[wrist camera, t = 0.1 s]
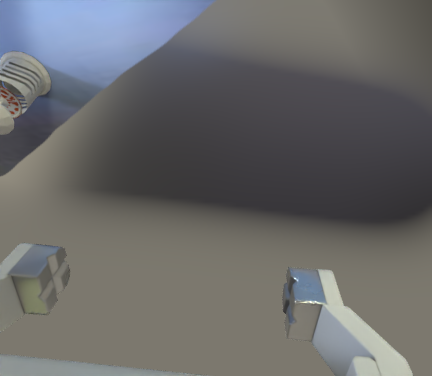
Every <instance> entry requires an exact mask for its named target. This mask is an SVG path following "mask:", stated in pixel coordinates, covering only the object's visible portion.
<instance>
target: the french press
mask: <svg viewBox="0 0 432 376" xmlns="http://www.w3.org/2000/svg"><path fill="white" fill-rule="evenodd" d="M2 81H3V83H4V85H5V87H6V88H7V89H8V90H7V89H5V88H4V87H3V85H2ZM50 87H51V80H50V76H49V73H48V72H47V71H46V69H45V68H44V66H43V65H42V64H41V63H39V62H38V61H37V60H36V59H35V58H33V57H31V56H29V55H27V54H25V53H23V52H16V51H11V52H8V53H5V54H4V55H3V56H2V58H1V59H0V134H1V135H3V134H8V133H10V132H11V131H12V130H13V128H14V120H13V118H18V117H19V116H20V115H21V114H23V113H25V111H26V110H27V109H28V108H29V106H30V105H31V104H32V102H33V101H34V100H35V99H36V97H37V96H40V95H45V94H46V93H47V92H48V91H49V90H50ZM11 92H12V93H11ZM14 94H15V95H23V96H24V97H17V96H15V95H14ZM18 99H26V101H19V100H18ZM21 103H27V104H21ZM24 106H27V107H26V108H22V107H24Z"/></svg>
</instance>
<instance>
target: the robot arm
mask: <svg viewBox="0 0 432 376" xmlns="http://www.w3.org/2000/svg"><path fill="white" fill-rule="evenodd" d="M66 256H67V255H66V251H65V248H62V247H56V246H47V245H39V244H27V243H22V244H19V245H18V246H17V247H16V248H15V249H14V250H13V251H12V253H10V255H9V256H8V257H7V258H6V259H5V260H4V261H3V262H2V263H1V264H0V332H2V331H3V330H5V329H6V328H7V327H9V326H10V325H11V324H13V323H14V322H15V321H17V320H18V319H19V318H21V317H22V316H24V314H25V313H26V314H39V315H49V313H50V312H51V310H52V309H53V307H54V305H55V304H56V302H57V301H58V299H57V294H59V293H60V292H62V291H64V289H65V287H66V286H67V284H68V281H69V277H70V268H69V265H68V264H67V263H66V262H65V261H64V259H65V257H66ZM286 279H287V283H285V284H284V288H283V296H282V304H283V312H284V313H285V314H286V317H285V322H284V323H285V331H286V338H287V339H294V340H301V341H309V342H312V345H313V346H314V347H315V348H316V350H317V351H318V353H319V354H320V355H321V357H322V358H323V360H324V361H325V362H326V363H327V365H328V366H329V368H330V369H331V371H332V372H333V373H334V375H335V376H413V374H412V372H411V369H410V367H409V365H408V363H407V360H406V359H405V358H404V357H402V356H401V355H400V354H399V353H398V352H397V351H396V350H395V349H393V348H392V346H390V345H389V344H388V343H387V342H386V341H385V340H384V339H383V338H381V336H380V335H378V334H377V333H376V332H375V331H374V330H373V329H372V328H371V327H370V326H368V325H367V324H366V323H365V322H364V321H363V320H362V319H361V318H360V317H359V316H358V315H357V314H355V313H354V312H353V311H352V310H351V309H350V308H349V307H344V305H343V302H342V299H341V296H340V293H339V290H338V287H337V284H336V280H335V277H334V274H333V272H332V271H331V270H320V269H317V270H316V269H305V268H292V267H288V269H287V273H286ZM0 376H206V375H197V374H188V373H178V372H168V371H159V370H149V369H140V368H130V367H121V366H111V365H102V364H92V363H83V362H72V361H64V360H54V359H45V358H35V357H25V356H15V355H6V354H0Z"/></svg>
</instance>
